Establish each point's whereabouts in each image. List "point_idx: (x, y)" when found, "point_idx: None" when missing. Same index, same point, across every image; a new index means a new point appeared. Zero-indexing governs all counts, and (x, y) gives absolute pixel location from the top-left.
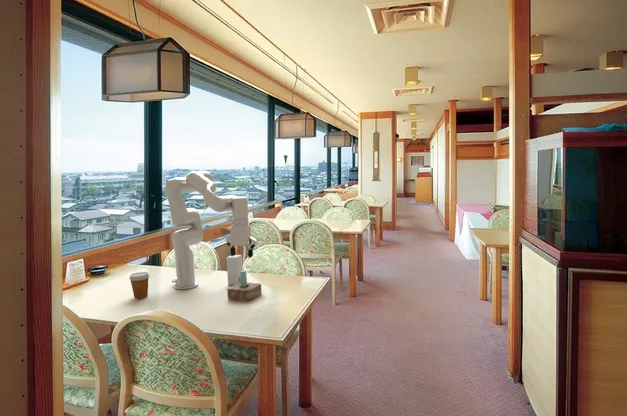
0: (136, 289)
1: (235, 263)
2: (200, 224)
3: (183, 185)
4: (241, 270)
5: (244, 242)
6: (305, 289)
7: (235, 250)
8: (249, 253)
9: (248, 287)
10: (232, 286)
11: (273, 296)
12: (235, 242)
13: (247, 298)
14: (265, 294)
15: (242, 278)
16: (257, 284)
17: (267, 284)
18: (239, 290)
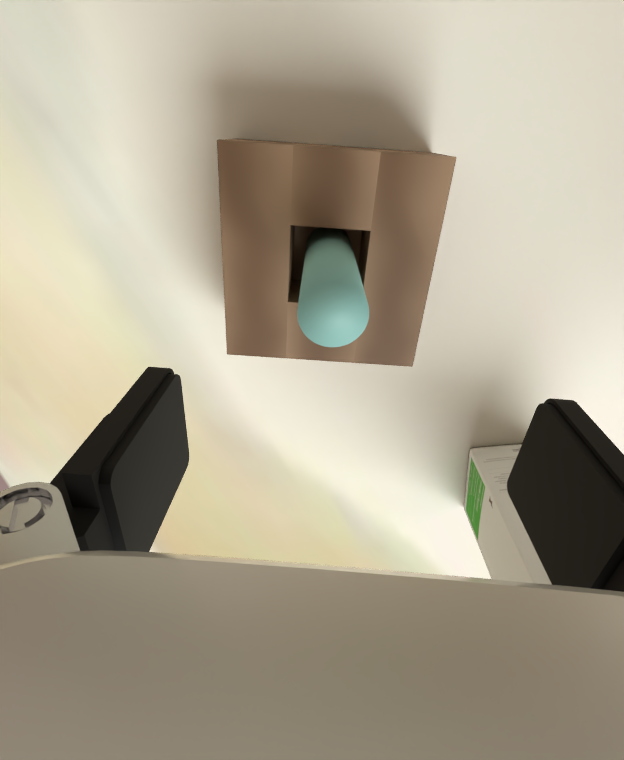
0: None
1: (543, 571)
2: None
3: None
4: (489, 554)
5: None
6: (43, 441)
7: (539, 557)
8: (114, 420)
9: (273, 239)
10: (433, 241)
11: (140, 295)
12: (620, 736)
13: (248, 140)
14: (215, 324)
15: (327, 259)
16: (242, 330)
17: (302, 485)
18: (320, 147)
